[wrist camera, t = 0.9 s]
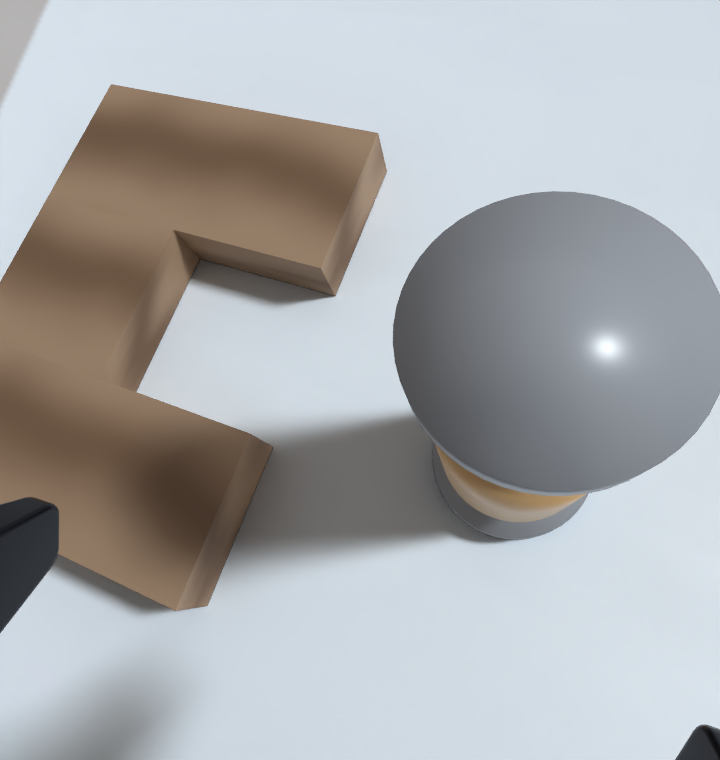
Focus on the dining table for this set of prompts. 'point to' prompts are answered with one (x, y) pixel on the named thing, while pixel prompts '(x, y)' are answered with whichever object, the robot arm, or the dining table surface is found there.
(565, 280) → the bobbin
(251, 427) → the dining table surface
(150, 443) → the notched board
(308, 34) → the dining table surface
